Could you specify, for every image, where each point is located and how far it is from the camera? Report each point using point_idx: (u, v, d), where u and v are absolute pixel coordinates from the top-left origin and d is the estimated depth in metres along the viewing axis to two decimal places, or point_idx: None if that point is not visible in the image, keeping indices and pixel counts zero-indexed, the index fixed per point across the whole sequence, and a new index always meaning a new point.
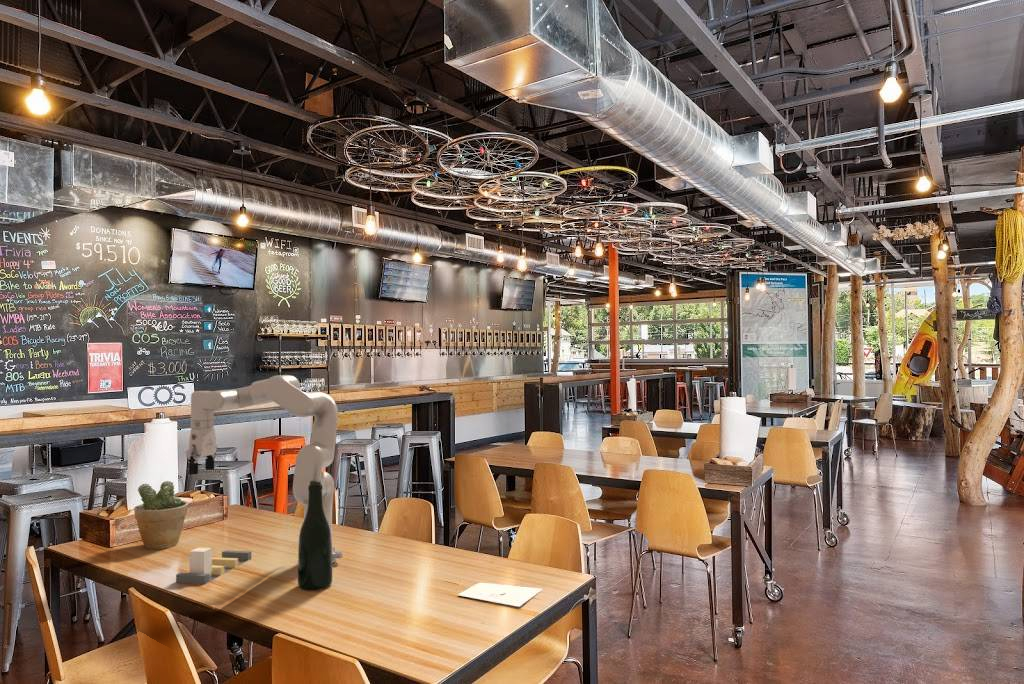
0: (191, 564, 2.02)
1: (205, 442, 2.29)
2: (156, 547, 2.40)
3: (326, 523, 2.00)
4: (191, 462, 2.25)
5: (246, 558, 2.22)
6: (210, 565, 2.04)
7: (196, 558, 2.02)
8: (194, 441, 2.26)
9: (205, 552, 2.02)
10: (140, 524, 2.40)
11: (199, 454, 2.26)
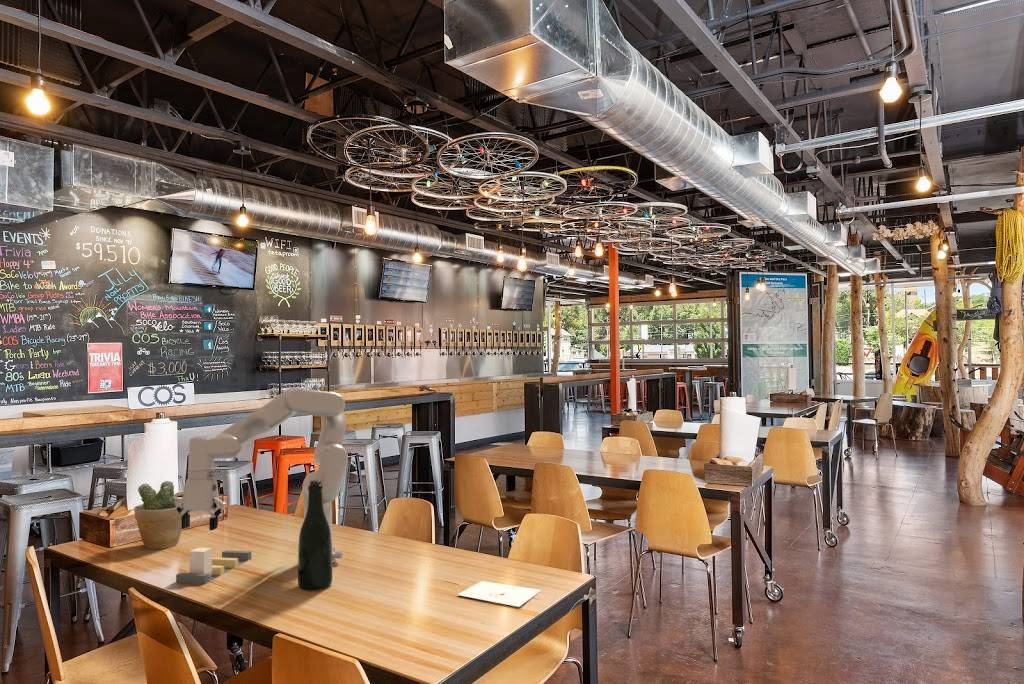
0: (191, 564, 2.02)
1: None
2: (156, 547, 2.40)
3: (326, 523, 2.00)
4: (217, 515, 2.03)
5: (246, 558, 2.22)
6: (210, 565, 2.04)
7: (196, 558, 2.02)
8: (215, 492, 2.04)
9: (205, 552, 2.02)
10: (140, 524, 2.40)
11: (218, 505, 2.05)
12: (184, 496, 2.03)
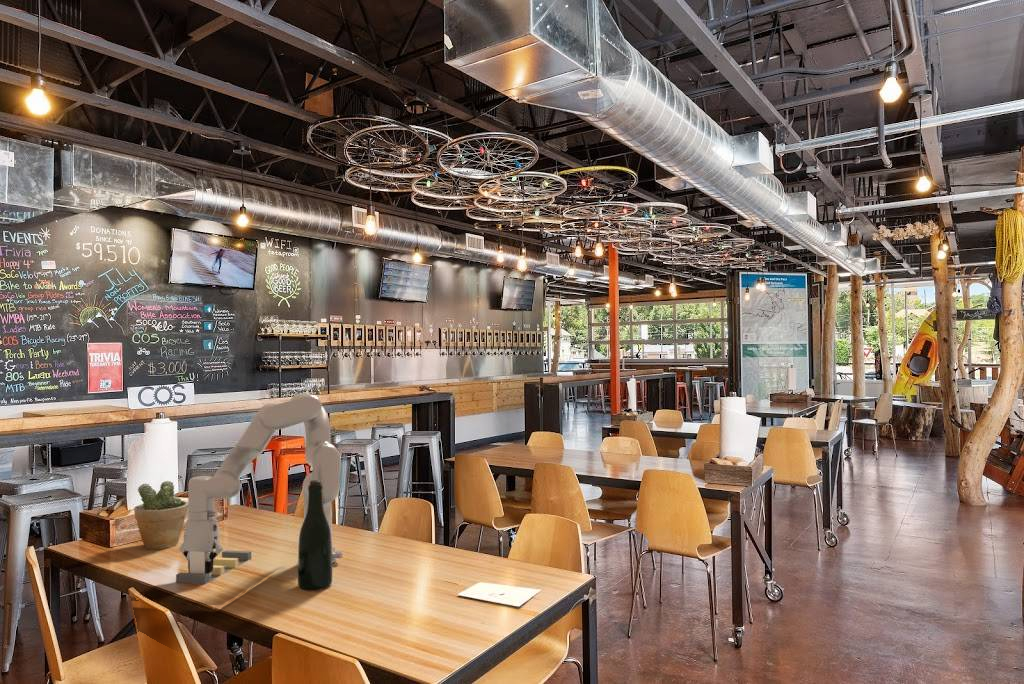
0: (191, 564, 2.02)
1: None
2: (156, 547, 2.40)
3: (326, 523, 2.00)
4: (212, 560, 2.03)
5: (246, 558, 2.22)
6: None
7: (196, 558, 2.02)
8: (215, 532, 2.03)
9: None
10: (140, 524, 2.40)
11: None
12: (185, 537, 2.02)
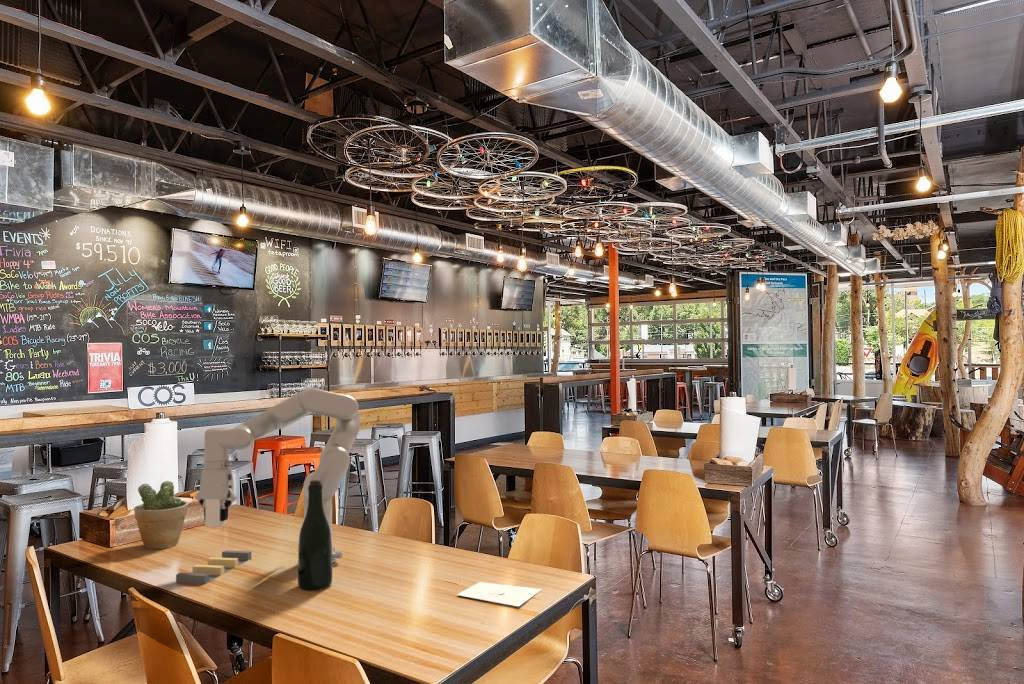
0: (207, 511, 2.10)
1: None
2: (156, 547, 2.40)
3: (326, 523, 2.00)
4: (227, 507, 2.11)
5: (246, 558, 2.22)
6: None
7: (212, 506, 2.10)
8: (230, 481, 2.12)
9: (220, 500, 2.10)
10: (140, 524, 2.40)
11: None
12: (201, 486, 2.11)
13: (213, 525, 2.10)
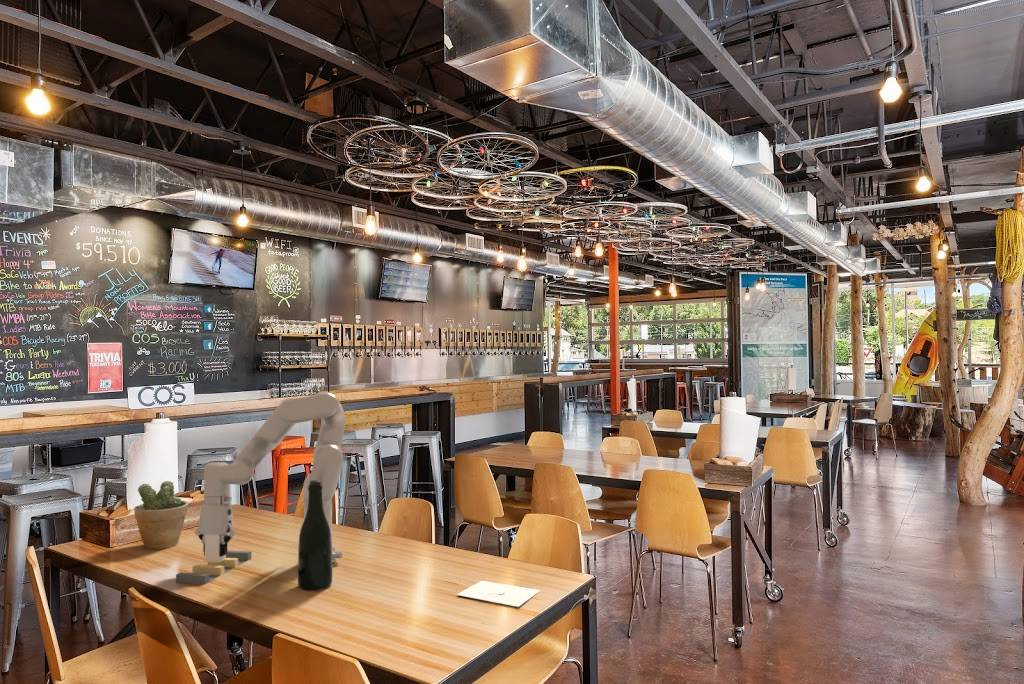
0: (206, 547, 2.10)
1: None
2: (156, 547, 2.40)
3: (326, 523, 2.00)
4: (226, 543, 2.11)
5: (246, 558, 2.22)
6: None
7: (211, 541, 2.10)
8: (230, 516, 2.11)
9: None
10: (140, 524, 2.40)
11: None
12: (200, 521, 2.10)
13: (212, 560, 2.09)
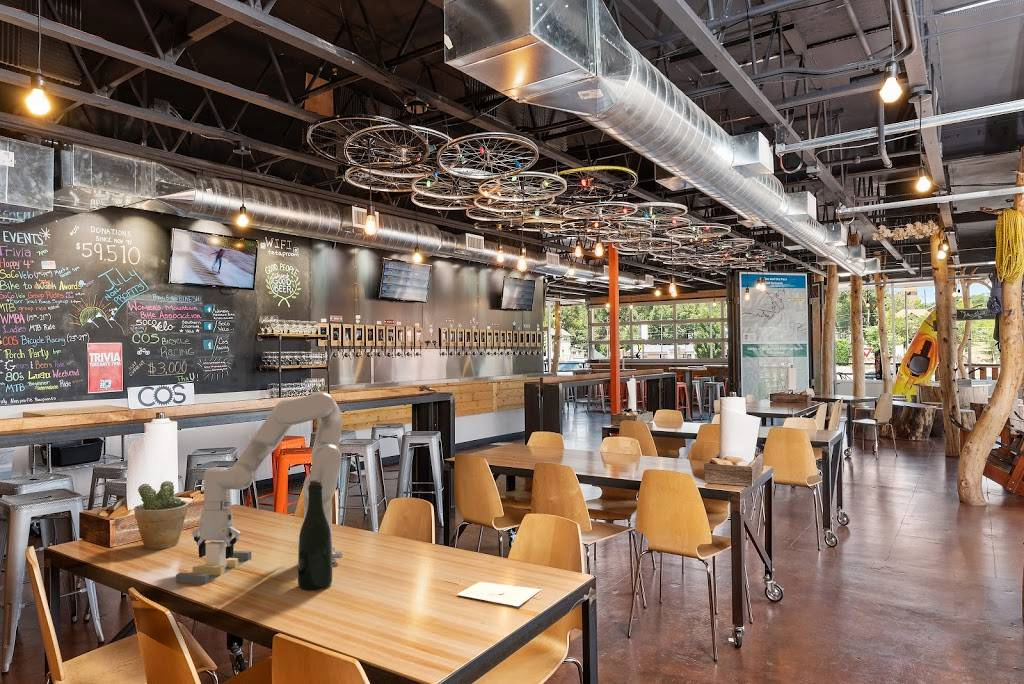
0: (207, 556, 2.10)
1: None
2: (156, 547, 2.40)
3: (326, 523, 2.00)
4: (233, 544, 2.11)
5: (246, 558, 2.22)
6: (225, 557, 2.12)
7: (212, 551, 2.10)
8: (230, 521, 2.11)
9: (220, 545, 2.10)
10: (140, 524, 2.40)
11: (233, 534, 2.13)
12: (200, 526, 2.10)
13: None
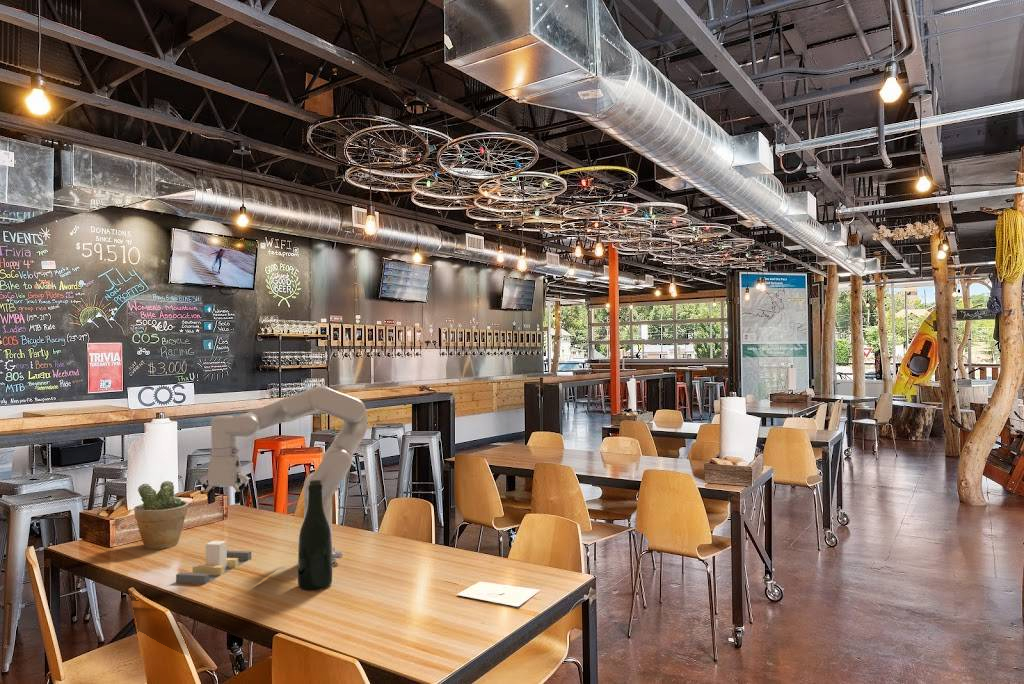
0: (207, 556, 2.10)
1: None
2: (156, 547, 2.40)
3: (326, 523, 2.00)
4: (241, 490, 2.14)
5: (246, 558, 2.22)
6: (225, 557, 2.12)
7: (212, 551, 2.10)
8: (238, 468, 2.15)
9: (220, 545, 2.10)
10: (140, 524, 2.40)
11: (241, 480, 2.17)
12: (209, 473, 2.13)
13: None
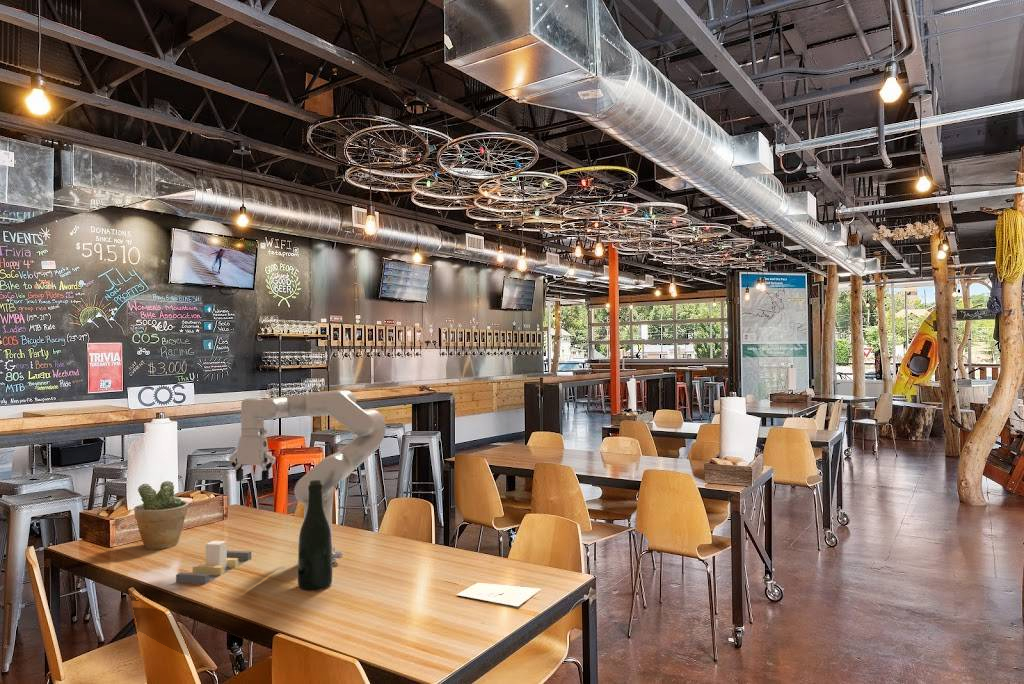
0: (207, 556, 2.10)
1: None
2: (156, 547, 2.40)
3: (326, 523, 2.00)
4: (268, 469, 2.26)
5: (246, 558, 2.22)
6: (225, 557, 2.12)
7: (212, 551, 2.10)
8: (265, 448, 2.26)
9: (220, 545, 2.10)
10: (140, 524, 2.40)
11: (268, 460, 2.28)
12: (238, 452, 2.25)
13: None
